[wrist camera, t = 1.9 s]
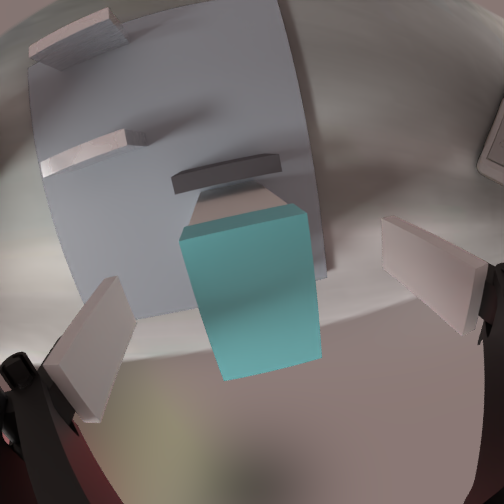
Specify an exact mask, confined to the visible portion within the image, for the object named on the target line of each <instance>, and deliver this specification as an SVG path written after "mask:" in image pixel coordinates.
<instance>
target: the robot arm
mask: <svg viewBox="0 0 504 504" xmlns="http://www.w3.org/2000/svg"><path fill="white" fill-rule="evenodd" d="M381 226H382V263H383V269H384V270H385V271H387V272H388V273H389V274H390V275H391V276H393V277H394V278H395V279H396V280H398V281H399V282H400V283H401V284H402V285H404V286H405V287H406V288H407V289H408V290H410V291H411V292H412V293H413V294H414V295H416V296H417V297H418V298H419V299H420V300H422V301H423V302H424V303H425V304H426V305H427V306H429V307H430V308H431V309H432V310H433V311H434V312H435V313H436V314H438V315H439V316H440V317H441V318H442V319H443V320H444V321H446V322H447V323H448V324H449V325H450V326H451V327H452V328H453V329H454V330H455V331H457V332H458V333H459V334H460V335H461V336H463V335H466V334H467V333H469V332H471V331H473V330H475V327H476V324H477V319H478V316H480V317H481V318H482V319H484V322H483V326H482V329H481V333H480V336H479V340H478V345H480V342H481V340H483V346H484V366H485V367H484V370H485V392H484V393H485V395H484V417H483V428H482V437H481V445H480V453H479V459H478V465H477V471H476V476H475V480H474V484H473V486H472V489H471V491H470V492H469V494H468V496H467V497H466V499H465V501H464V504H504V263H500V264H497V265H496V266H493V265H491V264H489V263H488V262H486V261H484V260H482V259H480V258H479V257H477V256H475V255H473V254H471V253H469V252H468V251H466V250H464V249H462V248H460V247H458V246H456V245H454V244H452V243H450V242H448V241H446V240H444V239H442V238H440V237H438V236H436V235H434V234H432V233H430V232H428V231H426V230H424V229H422V228H419V227H417V226H415V225H413V224H411V223H409V222H406V221H404V220H402V219H400V218H398V217H395V216H389V217H384V218H381ZM136 324H137V322H136V320H135V318H134V315H133V313H132V311H131V308H130V306H129V303H128V301H127V298H126V296H125V293H124V291H123V288H122V286H121V283H120V280H119V278H118V276H113V277H109V278H105V279H104V280H103V281H102V282H101V284H100V285H99V286H98V287H97V289H96V290H95V291H94V293H93V294H92V295H91V297H90V298H89V299H88V301H87V302H86V303H85V305H84V306H83V307H82V309H81V310H80V311H79V313H78V314H77V315H76V317H75V318H74V320H73V321H72V322H71V324H70V325H69V327H68V328H67V329H66V331H65V332H64V334H63V335H62V336H61V337H60V338H59V339H58V340H57V342H56V343H55V344H54V346H53V347H54V348H52V349H51V350H50V352H49V354H48V355H47V356H46V358H45V359H44V361H43V363H42V364H41V366H40V367H39V369H38V370H37V371H36V369H35V367H34V366H33V364H32V363H31V361H30V359H29V358H28V356H27V355H26V353H24V352H18V353H15V354H13V355H11V356H10V357H8V358H7V359H6V360H5V361H4V362H3V363H2V365H1V366H0V374H1V375H2V376H3V378H4V379H5V381H6V382H7V383H8V385H9V387H10V388H11V389H12V390H11V391H7V392H4V391H3V390H2V388H1V387H0V504H124V503H123V502H122V501H121V499H120V498H119V497H118V495H117V493H116V492H115V491H114V489H113V487H112V486H111V484H110V483H109V481H108V480H107V478H106V476H105V475H104V473H103V471H102V470H101V468H100V466H99V465H98V463H97V461H96V460H95V458H94V456H93V454H92V452H91V451H90V449H89V447H88V445H87V443H86V441H85V439H84V437H83V435H82V433H81V431H80V429H79V427H78V425H77V424H76V423H75V422H74V420H73V416H74V413H75V412H76V413H77V414H78V415H79V417H80V418H81V419H82V420H83V422H92V423H101V420H102V417H103V414H104V411H105V408H106V405H107V401H108V398H109V396H110V393H111V390H112V387H113V384H114V381H115V379H116V376H117V373H118V370H119V368H120V364H121V362H122V360H123V357H124V354H125V352H126V349H127V347H128V344H129V342H130V339H131V336H132V334H133V332H134V329H135V327H136ZM2 432H3V433H4V434H5V435H6V437H7V438H8V439H9V440H10V442H9V445H8V444H7V443H6V442H5V441H4V438H3V436H2Z"/></svg>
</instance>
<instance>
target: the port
mask: <svg viewBox="0 0 504 504" xmlns="http://www.w3.org/2000/svg"><path fill="white" fill-rule="evenodd" d="M129 43H130V41H129V33H128V32H127V31H126V29H125V28H124V27H123V25H122V24H121V23H120V21H119V20H118V19H117V18H116V16H115V15H114V14H113V12H112V11H111V10H110V9H109V7H107V8H104V9H102V10H99V11H97V12H95V13H92V14H90V15H88V16H85V17H83V18H81V19H79V20H77V21H74V22H72V23H70V24H68V25H66V26H64V27H62V28H60V29H58V30H57V31H55V32H53V33H51V34H49V35H47V36H46V37H44V38H42V39H40V40H39V41H37V42H35V43H34V44H32V45H30V46H29V58H30V59H33V60H35V61H38V62H40V63H43V64H45V65H47V66H50V67H52V68H54V69H56V70H59V71H61V72H62V71H64V70H66V69H68V68H70V67H72V66H74V65H76V64H79V63H81V62H83V61H85V60H88V59H90V58H92V57H95V56H97V55H100V54H102V53H105V52H107V51H110V50H112V49H115V48H118V47H121V46H123V45H126V44H129ZM144 147H147V142H146V137H145V133H141V132H137V131H133V130H129V129H121V130H118V131H115V132H112V133H109V134H106V135H104V136H101V137H98V138H96V139H93V140H90V141H88V142H85V143H83V144H80V145H78V146H76V147H73V148H71V149H68V150H66V151H64V152H62V153H59V154H57V155H55V156H53V157H51V158H48V159H46V160H44V161H42V162H40V165H41V170H42V174H43V178H44V177H49V176H53V175H57V174H62V173H67V172H72V171H77V170H79V169H82V168H84V167H87V166H90V165H92V164H95V163H98V162H101V161H104V160H106V159H109V158H112V157H115V156H118V155H121V154H124V153H127V152H131V151H134V150H137V149H140V148H144Z"/></svg>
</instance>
